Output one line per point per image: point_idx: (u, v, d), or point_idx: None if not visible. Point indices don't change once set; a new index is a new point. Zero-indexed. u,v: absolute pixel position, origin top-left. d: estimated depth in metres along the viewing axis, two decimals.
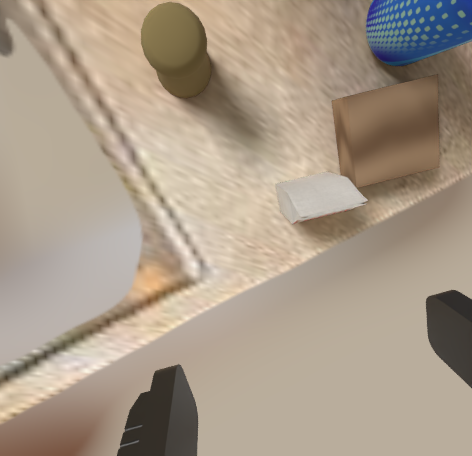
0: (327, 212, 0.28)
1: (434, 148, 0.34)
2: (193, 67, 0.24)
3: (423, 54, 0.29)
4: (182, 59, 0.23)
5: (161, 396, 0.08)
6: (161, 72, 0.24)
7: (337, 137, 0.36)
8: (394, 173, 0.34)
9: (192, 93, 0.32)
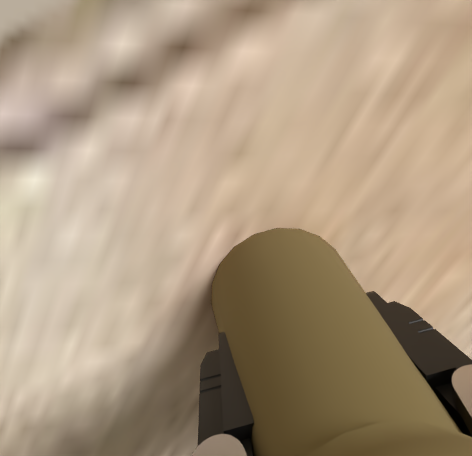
0: None
1: None
2: None
3: None
4: None
5: None
6: None
7: None
8: None
9: None
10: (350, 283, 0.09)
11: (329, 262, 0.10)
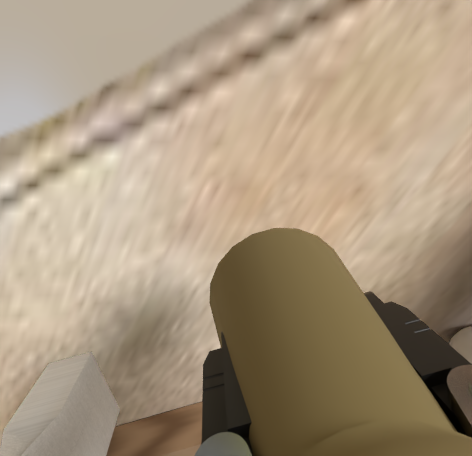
0: None
1: None
2: None
3: None
4: None
5: None
6: None
7: (165, 415, 0.27)
8: None
9: None
10: (348, 283, 0.09)
11: (327, 261, 0.10)
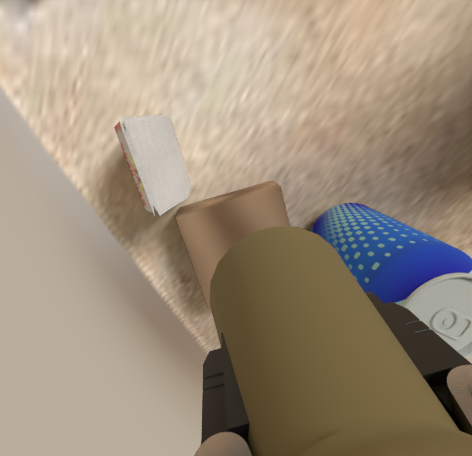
0: (135, 159, 0.19)
1: None
2: None
3: None
4: None
5: None
6: None
7: (233, 192, 0.30)
8: (197, 260, 0.28)
9: None
10: (348, 281, 0.09)
11: (328, 260, 0.10)
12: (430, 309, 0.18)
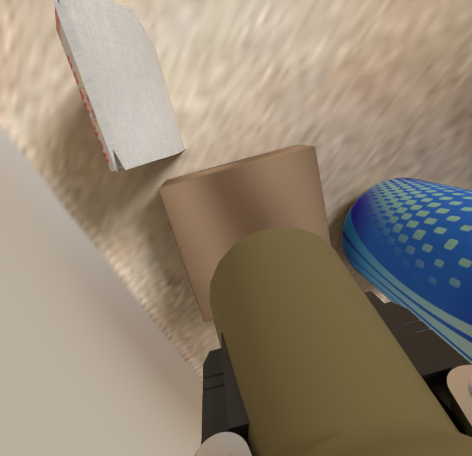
0: (79, 60, 0.11)
1: None
2: None
3: (376, 251, 0.18)
4: None
5: None
6: None
7: (242, 160, 0.22)
8: (190, 253, 0.20)
9: None
10: (348, 282, 0.09)
11: (328, 261, 0.10)
12: None
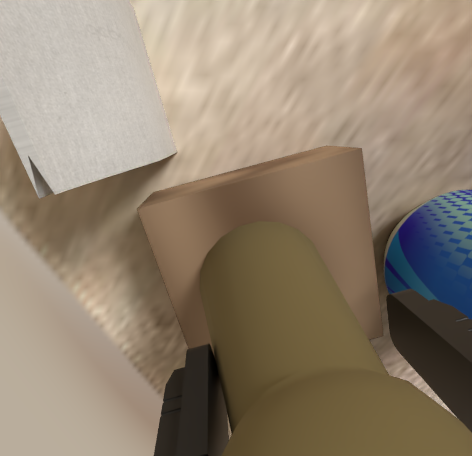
0: None
1: None
2: None
3: (448, 298, 0.13)
4: None
5: (197, 370, 0.08)
6: None
7: (254, 166, 0.16)
8: (183, 297, 0.14)
9: None
10: (318, 267, 0.10)
11: (303, 250, 0.11)
12: None
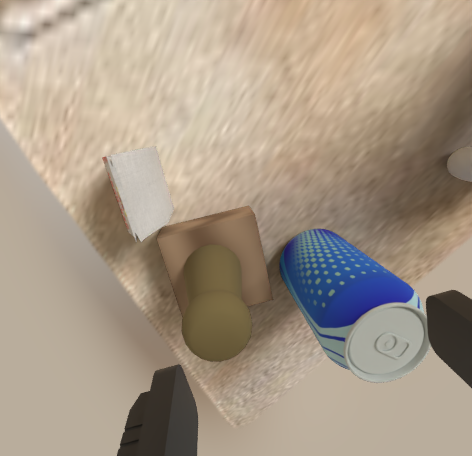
0: (120, 191, 0.22)
1: None
2: None
3: (291, 279, 0.30)
4: (196, 347, 0.20)
5: (161, 396, 0.08)
6: (185, 315, 0.21)
7: (212, 215, 0.33)
8: (175, 278, 0.30)
9: None
10: (228, 265, 0.27)
11: (225, 258, 0.28)
12: (375, 333, 0.21)
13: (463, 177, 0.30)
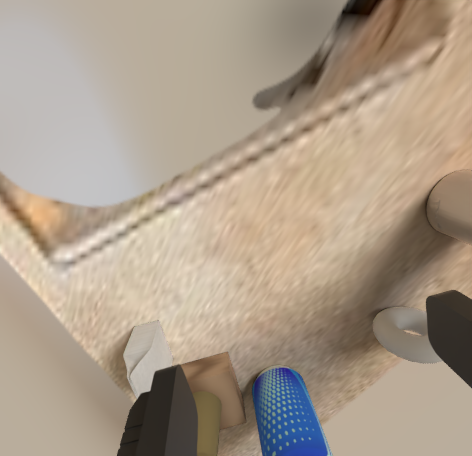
0: (136, 394, 0.34)
1: None
2: None
3: (256, 416, 0.42)
4: None
5: (161, 396, 0.08)
6: None
7: (200, 360, 0.45)
8: None
9: None
10: (210, 416, 0.39)
11: (208, 407, 0.40)
12: None
13: (379, 342, 0.41)
